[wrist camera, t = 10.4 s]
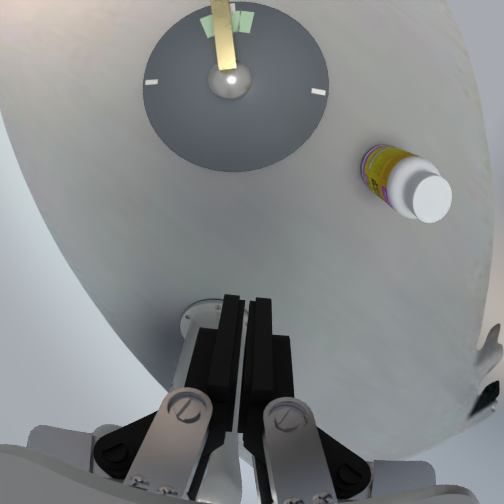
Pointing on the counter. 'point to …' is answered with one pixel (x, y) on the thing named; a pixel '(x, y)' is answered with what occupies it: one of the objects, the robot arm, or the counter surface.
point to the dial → (242, 109)
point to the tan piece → (227, 56)
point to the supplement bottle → (407, 183)
